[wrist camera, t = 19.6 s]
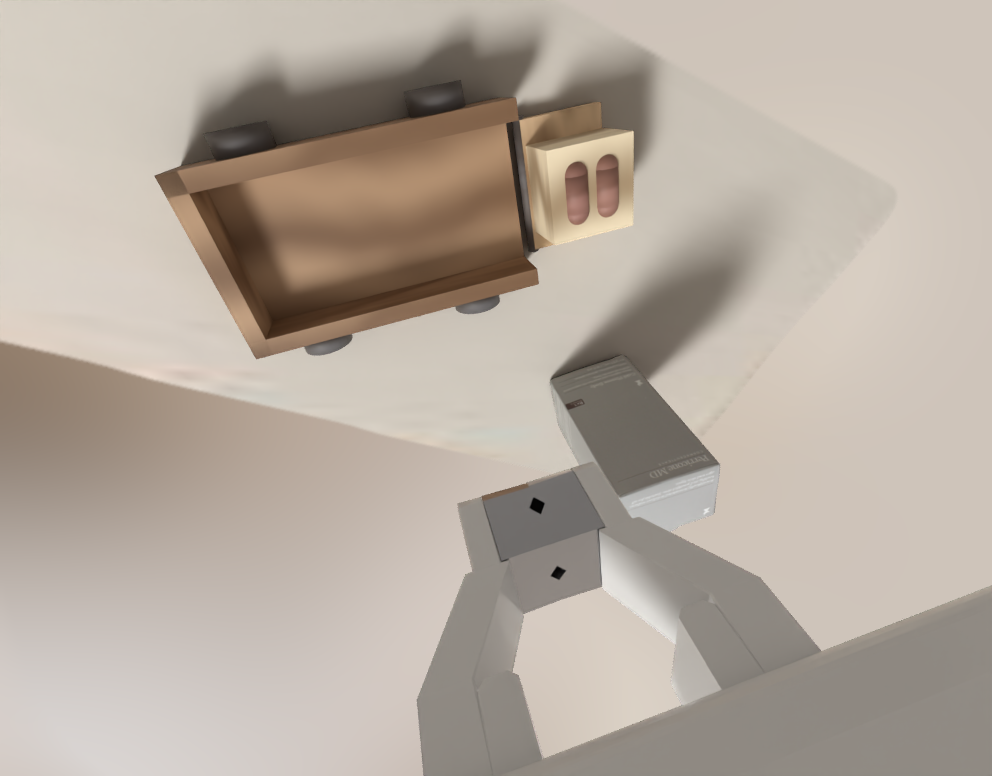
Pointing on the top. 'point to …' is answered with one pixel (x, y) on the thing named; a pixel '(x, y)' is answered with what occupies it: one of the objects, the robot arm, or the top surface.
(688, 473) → the skincare box
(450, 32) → the top surface
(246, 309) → the cart bed
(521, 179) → the tailgate
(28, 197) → the top surface
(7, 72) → the top surface
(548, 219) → the block
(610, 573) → the robot arm
